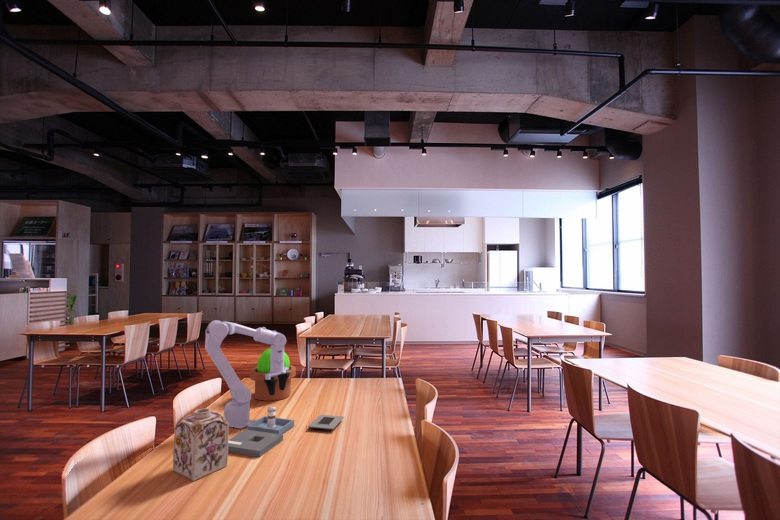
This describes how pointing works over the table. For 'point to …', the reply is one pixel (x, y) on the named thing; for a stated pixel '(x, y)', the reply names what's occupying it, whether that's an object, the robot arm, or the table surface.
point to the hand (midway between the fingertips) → (277, 392)
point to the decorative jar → (200, 444)
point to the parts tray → (261, 426)
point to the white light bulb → (271, 417)
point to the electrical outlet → (325, 422)
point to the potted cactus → (264, 368)
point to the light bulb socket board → (253, 442)
